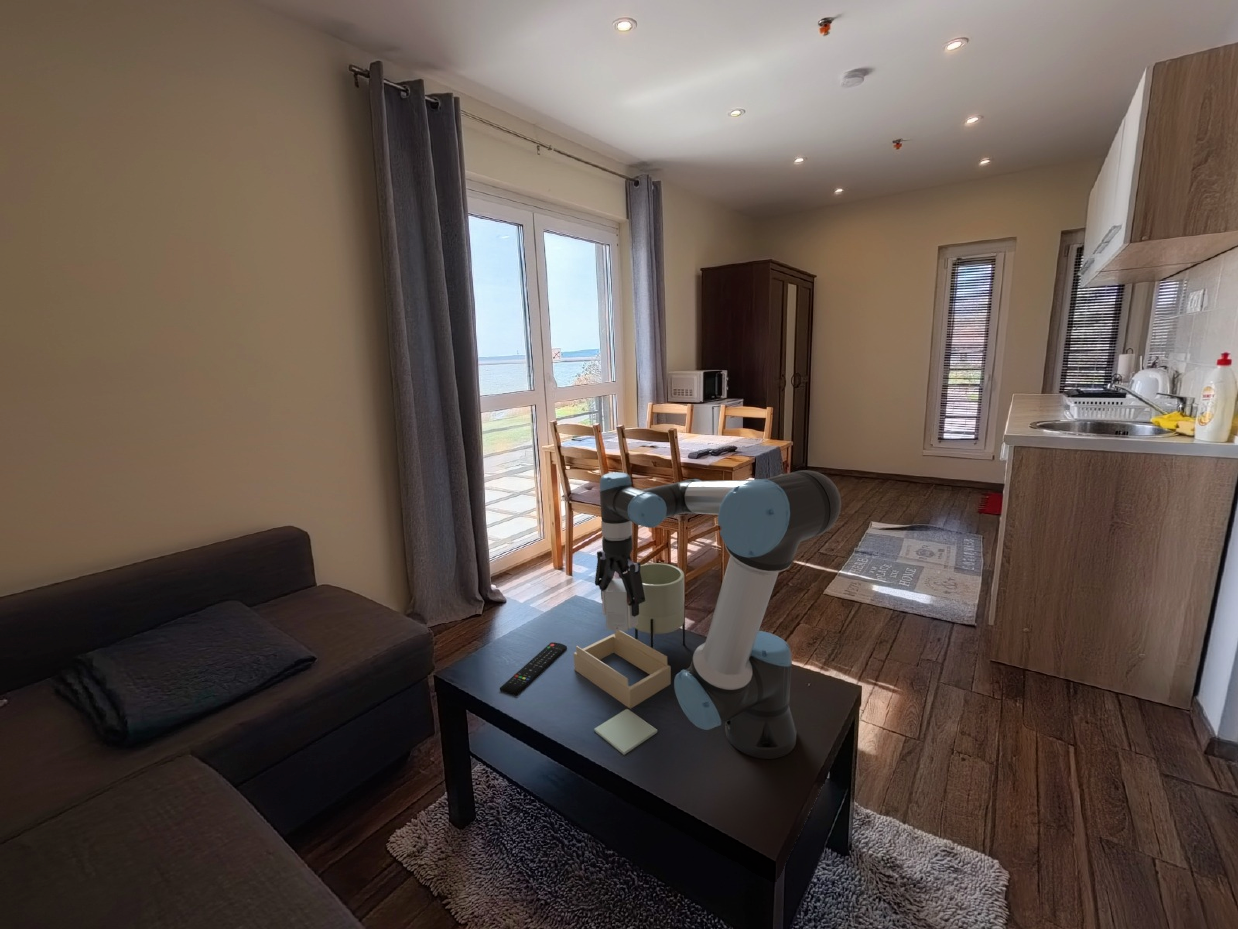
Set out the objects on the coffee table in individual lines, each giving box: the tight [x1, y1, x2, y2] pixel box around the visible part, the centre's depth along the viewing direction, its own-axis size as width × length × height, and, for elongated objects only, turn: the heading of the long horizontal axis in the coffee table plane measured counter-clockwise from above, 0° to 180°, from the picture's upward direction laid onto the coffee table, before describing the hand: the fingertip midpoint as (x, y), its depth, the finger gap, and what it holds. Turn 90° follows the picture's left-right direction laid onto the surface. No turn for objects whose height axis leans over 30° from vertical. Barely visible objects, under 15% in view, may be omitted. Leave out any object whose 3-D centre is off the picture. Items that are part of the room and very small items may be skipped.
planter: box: [633, 562, 686, 649], centre depth 152 cm, size 15×16×23 cm
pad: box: [593, 708, 658, 756], centre depth 122 cm, size 10×10×1 cm
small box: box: [605, 577, 630, 632], centre depth 138 cm, size 8×6×10 cm
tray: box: [573, 630, 672, 710], centre depth 141 cm, size 22×14×7 cm, turn 41°
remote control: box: [499, 641, 568, 697], centre depth 147 cm, size 5×24×1 cm, turn 153°
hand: (620, 619), depth 139 cm, fingers closed on small box, 9 cm apart
